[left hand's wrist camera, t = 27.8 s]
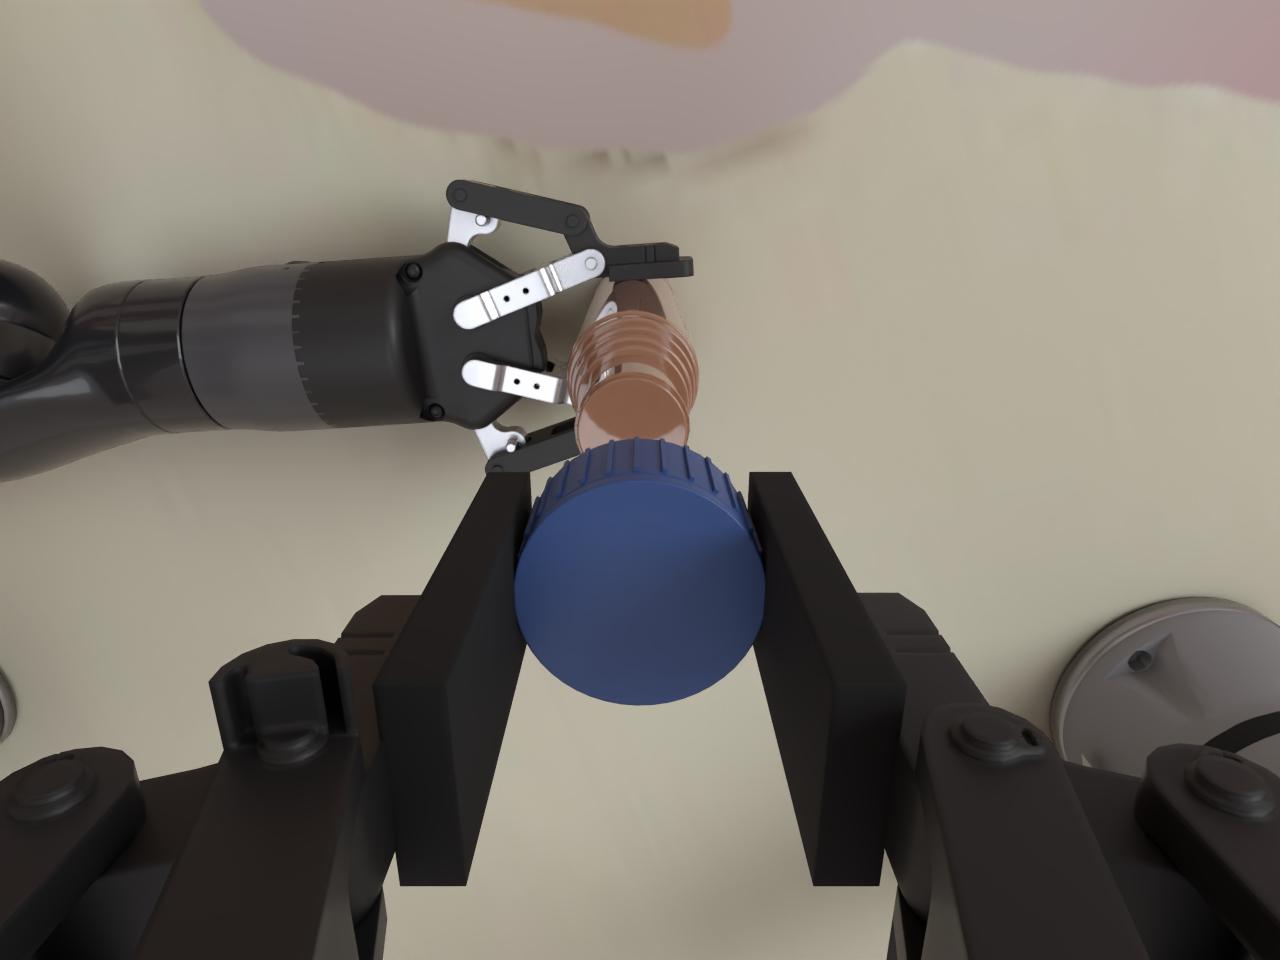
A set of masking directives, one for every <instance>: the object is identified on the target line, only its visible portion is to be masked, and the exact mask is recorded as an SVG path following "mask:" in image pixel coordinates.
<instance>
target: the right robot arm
mask: <svg viewBox="0 0 1280 960" xmlns="http://www.w3.org/2000/svg"><path fill="white" fill-rule="evenodd" d="M446 197H447V200H448V202H449V204H450V205H451V212H450V220H449V228H448V236H447V242H446V243H443V244H440V245H439V246H437V247H436V248H434V249H433V250H432V251H430V252H428V253H426V254H423V255H414V256H400V257H386V258H372V259H358V260H344V261H329V262H314V263H311V262H307V261H293V262H289V263H287V264H285V265H270V266H260V267H252V268H247V269H242V270H238V271H234V272H229V273H224V274H218V275H210V276H200V277H186V278H171V279H157V280H137V281H126V282H118V283H112V284H107V285H104V286H101V287H99V288H96V289H94V290H92V291H90V292H88V293H87V294H86V295H85V296H84V297H82V298H81V299H80V300H79V301H78V302H77V304H76V305H75V306H74V308H73V309H72V311H71V312H69V310H68V308H67V306H66V304H65V302H64V301H63V299H62V298H61V297H60V295H59V294H58V293H57V292H56V290H55V289H54V288H53V287H52V286H51V285H50V284H49V283H48V282H46V281H45V280H44V279H43V278H41V277H40V276H38V275H37V274H36V273H34V272H32V271H30V270H29V269H27V268H24V267H22V266H20V265H17V264H14V263H12V262H9V261H6V260H3V259H0V482H6V481H11V480H17V479H21V478H25V477H29V476H32V475H35V474H39V473H42V472H45V471H49V470H52V469H55V468H57V467H60V466H63V465H66V464H68V463H71V462H74V461H76V460H79V459H82V458H84V457H87V456H89V455H92V454H95V453H98V452H101V451H104V450H107V449H110V448H113V447H117V446H120V445H123V444H126V443H130V442H133V441H136V440H139V439H142V438H145V437H149V436H153V435H159V434H171V433H182V432H198V431H214V430H229V429H252V430H265V431H301V430H317V429H331V428H347V427H363V426H379V425H394V424H409V423H425V422H437V421H446V422H451V423H455V424H457V425H460V426H462V427H464V428H467V429H472V430H475V432H476V434H477V437H478V439H479V441H480V443H481V445H482V448H483V450H484V452H485V454H486V456H487V458H488V462H487V464H486V467H485V472H486V475H487V474H488V472H531V471H534V470H537V469H540V468H543V467H546V466H549V465H551V464H554V463H557V462H560V461H563V460H566V459H569V458H571V457H574V456H577V455H580V454H581V453H580V451H579V448H578V446H577V443H576V439H575V429H574V424H575V418H576V417H574V418H571V419H568V420H565V421H562V422H560V423H557V424H554V425H551V426H548V427H545V428H543V429H540V430H537V431H534V432H531V433H529V434H527V432H526V431H525V430H524V429H523V428H522V427H519V426H510V427H506V426H502V425H501V424H499V423H498V422H497V421H496V419H497V418H498V417H500V416H501V415H502V414H503V413H504V412H506V411H507V410H508V409H509V408H510V407H511V406H513V405H514V404H515V403H516V402H517V401H519V400H520V399H521V398H522V397H528V398H532V399H536V400H540V401H545V402H549V403H553V404H562V403H565V404H570V405H572V403H571V400H570V397H569V392H568V383H567V368H568V363H566V362H562V361H558V360H554V359H550V358H547V349H546V344H545V341H544V339H543V336H542V334H541V331H540V325H541V318H542V303H541V300H543V299H546V298H548V297H550V296H553V295H555V294H557V293H559V292H561V291H563V290H565V289H568V288H570V287H573V286H575V285H578V284H580V283H583V282H585V281H587V280H590V279H592V278H600V277H609V282H617V281H628V280H646V279H661V278H675V277H688V276H693V275H694V272H693V258H692V257H690V256H682V257H679V248H678V246H676V245H673V244H670V243H667V242H661V243H647V244H632V245H618V246H610V245H607V244H605V243H603V242H602V241H601V240H600V239H599V238H598V236H597V234H596V232H595V230H594V227H593V225H592V223H591V221H590V215H589V213H588V211H587V210H586V209H585V208H584V207H583V206H580V205H576V204H572V203H568V202H563V201H559V200H555V199H550V198H546V197H542V196H538V195H533V194H529V193H525V192H520V191H516V190H512V189H507V188H503V187H499V186H494V185H490V184H486V183H482V182H477V181H472V180H455V181H453V182H451V183H450V184H449V186H448V188H447V190H446ZM502 220H504V221H509V222H513V223H517V224H522V225H526V226H530V227H535V228H539V229H544V230H548V231H552V232H557V233H561V234H564V236H565V238H566V240H567V243H568V245H569V247H570V249H571V251H572V253H571V254H568V255H566V256H564V257H561V258H559V259H556V260H553V261H551V262H548V263H545V264H543V265H541V266H538V267H536V268H533V269H531V270H528V271H526V272H524V273H521V274H517V273H516V272H514V271H512V270H511V269H509V268H508V267H506V266H504V265H503V264H501V263H500V262H498V261H496V260H495V259H493V258H492V257H490V256H488V255H487V254H485V253H484V252H482V251H480V250H479V249H477V248H476V247H474V246H472V245H471V244H472V241H473V239H474V238H475V236H477V235H478V234H489V233H492V232H495V231H496V230H497V229H498V228H499V227H500V225H501V221H502ZM544 370H546V372H544ZM537 384H539V386H536V385H537ZM15 718H16V707H15V701H14V697H13V694H12V692H11V689H10V687H9V686H8V684H7V682H6V680H5V679H4V677H3V676H2V675H1V673H0V744H1V743H2V742H3V741H4V740H5V739H6V738H7V737H8V736H9V734H10V732H11V731H12V729H13V726H14V723H15Z"/></svg>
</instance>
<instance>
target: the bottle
mask: <svg viewBox="0 0 1280 960" xmlns="http://www.w3.org/2000/svg"><path fill="white" fill-rule="evenodd" d="M567 383H568V392H569V397H570V400H571V403H572V406H573V408H574V410H575V412H576V418H575V424H574V429H575V439H576V443H577V446H578V448H579V451H580V453H581V454H583V453H584V452H585V449H587V448H590V449H593V448H595V447H597V446H600V445H603V444H606V443H609V440H612V439H614V441H619V440H625V439H634V437H635V436H639V439H654V440H660V438H663V439H665V441H666V442H670V443H674V444H677V445H680V446H683V447H684V445H687V440H688V436H689V431H690V428H689V413H690V412H691V410H692V408H693V405H694V403H695V400H696V396H697V391H698V383H699V369H698V362H697V358H696V355H695V352H694V349H693V347H692V344H691V341H690V338H689V335H688V333H687V330H686V327H685V324H684V322H683V319H682V316H681V313H680V311H679V308H678V305H677V302H676V299H675V297H674V294H673V291H672V289H671V287H670V285H669V284H668V282H667V281H666V280H665V279H664V278H661V279H646V280H628V281H617V282H609V277H604V278H603V280H602V281H601V282H600V284H599V285H598V287H597V289H596V291H595V294H594V296H593V299H592V301H591V304H590V306H589V309H588V311H587V314H586V317H585V319H584V322H583V324H582V327H581V329H580V332H579V334H578V337H577V339H576V342H575V344H574V347H573V349H572V352H571V355H570V358H569V362H568V368H567Z"/></svg>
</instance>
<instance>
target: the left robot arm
mask: <svg viewBox="0 0 1280 960" xmlns="http://www.w3.org/2000/svg"><path fill="white" fill-rule="evenodd" d="M531 511H532V502H531V483H530V472H488V474H487V475H486V477H485V479H484V481H483V483H482V485H481V486H480V488H479V490H478V492H477V494H476V496H475V497H474V499H473V501H472V503H471V505H470V507H469V508H468V510H467V512H466V514H465V516H464V518H463V519H462V521H461V523H460V525H459V527H458V529H457V530H456V532H455V534H454V536H453V538H452V540H451V541H450V543H449V545H448V547H447V549H446V551H445V552H444V554H443V556H442V558H441V560H440V562H439V563H438V565H437V567H436V569H435V571H434V573H433V574H432V576H431V578H430V580H429V582H428V584H427V585H426V587H425V589H424V591H423V593H422V595H381V596H380V597H378V598H377V599H375V600H374V601H372V602H371V603H369V604H368V605H366V606H365V607H363V608H362V609H361V610H359V611H358V612H356V613H355V614H354V616H353V617H352V619H351V620H350V622H349V623H348V625H347V626H346V627H345V629H344V630H343V632H342V633H341V638H338V639H337V641H336V642H335V644H334V643H330V642H326V641H322V640H319V639H293V640H287V641H282V642H277V643H272V644H267V645H264V646H262V647H259V648H256V649H254V650H251V651H249V652H246V653H243V654H241V655H240V656H238V657H236V658H235V659H233V660H232V661H230V662H228V663H227V664H225V665H224V666H222V667H221V668H220V669H219V670H218V671H217V673H216V674H215V675H214V676H213V677H212V678H211V679H210V681H209V687H210V691H211V695H212V700H213V704H214V709H215V713H216V718H217V722H218V726H219V731H220V735H221V740H222V744H223V749H224V751H223V753H222V756H221V758H220V760H219V762H218V763H216V764H213V765H209V766H205V767H202V768H198V769H194V770H189V771H185V772H180V773H175V774H171V775H166V776H161V777H156V778H152V779H147V780H142V781H139V779H138V775H137V771H136V768H135V764H134V761H133V760H132V759H131V758H130V757H129V756H128V755H127V754H126V753H124V752H123V751H122V750H117V749H111V748H106V747H93V748H83V749H74V750H70V751H65V752H61V753H60V754H54V755H51V756H48V757H45V758H42V759H40V760H38V761H37V762H34V763H32V764H30V765H28V766H26V767H24V768H22V769H20V770H18V771H15V772H13V773H12V774H10V775H9V776H7V777H6V778H5V779H3V780H2V781H0V960H383V951H384V942H385V934H386V925H387V914H386V907H385V900H384V893H383V886H382V885H383V882H384V880H385V877H386V874H387V871H388V869H389V866H390V863H391V861H392V858H393V855H394V853H396V860H397V867H398V874H399V881H400V886H466V884H467V880H468V876H469V872H470V868H471V864H472V860H473V856H474V852H475V848H476V844H477V840H478V836H479V832H480V828H481V824H482V820H483V816H484V812H485V808H486V804H487V800H488V796H489V792H490V789H491V785H492V781H493V777H494V773H495V769H496V765H497V761H498V757H499V753H500V749H501V745H502V741H503V737H504V733H505V729H506V725H507V721H508V717H509V713H510V709H511V705H512V701H513V697H514V693H515V689H516V685H517V681H518V677H519V673H520V669H521V665H522V661H523V657H524V653H525V649H526V645H527V643H526V641H525V639H524V637H523V635H522V632H521V630H520V628H519V625H518V622H517V618H516V606H515V590H514V576H515V570H516V566H517V563H518V560H517V556H518V553H519V550H520V547H521V545H522V542H523V539H524V537H523V534H524V531H525V528H526V526H527V523H528V520H529V517H530V514H531ZM748 512H749V513H750V516H751V519H752V522H753V525H754V527H755V530H756V533H757V536H758V539H759V542H760V545H761V548H762V555H761V559H762V563H763V566H764V570H765V575H766V581H765V599H764V614H763V622H762V625H761V628H760V631H759V633H758V635H757V637H756V639H755V641H754V643H753V647H754V651H755V655H756V659H757V663H758V667H759V671H760V675H761V679H762V683H763V687H764V691H765V695H766V699H767V703H768V707H769V711H770V715H771V719H772V723H773V727H774V731H775V735H776V739H777V743H778V747H779V751H780V755H781V759H782V763H783V767H784V771H785V775H786V779H787V783H788V787H789V791H790V795H791V799H792V803H793V807H794V811H795V815H796V819H797V822H798V826H799V830H800V834H801V838H802V842H803V846H804V850H805V854H806V858H807V862H808V866H809V870H810V874H811V878H812V882H813V886H879V885H880V877H881V870H882V863H883V856H884V849H885V850H886V853H887V856H888V858H889V861H890V864H891V866H892V869H893V872H894V874H895V877H896V880H897V882H898V886H897V893H896V900H895V906H894V913H893V919H892V926H891V933H890V939H889V946H888V953H887V960H1280V626H1278V625H1277V624H1275V623H1274V622H1272V621H1271V620H1269V619H1268V618H1266V617H1265V616H1263V615H1262V614H1260V613H1259V612H1257V611H1256V610H1254V609H1252V608H1250V607H1248V606H1245V605H1242V604H1240V603H1237V602H1233V601H1229V600H1225V599H1218V598H1207V597H1195V598H1183V599H1176V600H1171V601H1165V602H1162V603H1158V604H1155V605H1151V606H1149V607H1146V608H1143V609H1140V610H1138V611H1136V612H1134V613H1132V614H1129V615H1127V616H1126V617H1124V618H1122V619H1120V620H1118V621H1117V622H1115V623H1113V624H1112V625H1110V626H1109V627H1107V628H1106V629H1104V630H1103V631H1102V632H1101V633H1099V634H1098V635H1097V636H1095V637H1094V638H1093V639H1092V640H1091V641H1090V642H1089V643H1088V644H1087V645H1086V646H1085V647H1084V648H1083V649H1082V650H1081V651H1080V652H1079V653H1078V654H1077V656H1076V657H1075V658H1074V659H1073V660H1072V662H1071V663H1070V665H1069V666H1068V668H1067V669H1066V671H1065V672H1064V674H1063V676H1062V678H1061V680H1060V682H1059V684H1058V687H1057V689H1056V692H1055V695H1054V698H1053V702H1052V708H1051V718H1050V721H1051V732H1052V737H1053V741H1054V744H1055V746H1056V748H1055V747H1054V746H1053V744H1052V743H1051V741H1050V740H1049V739H1048V737H1047V736H1046V735H1045V733H1044V732H1042V731H1041V730H1039V729H1038V728H1037V727H1035V726H1034V725H1033V724H1031V723H1030V722H1028V721H1027V720H1026V719H1024V718H1022V717H1020V716H1017V715H1015V714H1013V713H1010V712H1008V711H1006V710H1004V709H1001V708H998V707H993V706H990V705H989V704H988V702H987V701H986V700H985V698H984V697H983V695H982V694H981V692H980V691H979V689H978V688H977V686H976V685H975V683H974V682H973V681H972V679H971V678H970V676H969V675H968V673H967V672H966V670H965V669H964V667H963V666H962V665H961V663H960V662H959V660H958V659H957V657H956V656H955V654H954V653H951V652H950V647H949V646H948V644H947V643H946V641H945V640H944V638H943V637H942V635H939V633H938V632H939V631H938V629H937V628H936V627H935V625H934V624H933V622H932V621H931V619H930V618H929V616H928V615H927V613H926V612H925V610H923V609H922V608H920V607H919V606H917V605H916V604H914V603H913V602H911V601H910V600H908V599H907V598H905V597H904V596H902V595H901V594H899V593H857V592H856V590H855V588H854V587H853V585H852V583H851V581H850V579H849V577H848V576H847V574H846V572H845V570H844V568H843V566H842V564H841V563H840V561H839V559H838V557H837V555H836V553H835V552H834V550H833V548H832V546H831V544H830V542H829V541H828V539H827V537H826V535H825V533H824V531H823V530H822V528H821V526H820V524H819V522H818V520H817V519H816V517H815V515H814V513H813V511H812V509H811V508H810V506H809V504H808V502H807V500H806V498H805V497H804V495H803V493H802V491H801V489H800V487H799V486H798V484H797V482H796V480H795V478H794V476H793V475H792V473H791V472H749V492H748ZM1056 749H1057V750H1056ZM1057 751H1058V752H1057ZM1058 753H1059V754H1058ZM1059 755H1060V756H1061V758H1062V759H1063V760H1061V759H1060V756H1059Z"/></svg>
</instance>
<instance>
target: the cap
mask: <svg viewBox="0 0 1280 960" xmlns="http://www.w3.org/2000/svg"><path fill="white" fill-rule="evenodd" d="M523 537H524V539H523V542H522V545H521V547H520V550H519V553H518V556H517V560H518V563H517V566H516V570H515V576H514V590H515V606H516V618H517V622H518V625H519V628H520V630H521V632H522V635H523V637H524V639H525V641H526V643H527V644H528V646H529V648H530V649H531V651H532V652H533V654H534V655H535V656H536V658H537V659H538V660H539V661H540V663H541V664H542V665H543V666H544V667H545V668H546V669H547V670H548V671H549V672H550V673H552V674H553V675H554V676H555V677H557V678H558V679H559V680H561V681H562V682H563V683H565V684H567V685H568V686H570V687H572V688H573V689H575V690H577V691H579V692H581V693H584V694H586V695H588V696H590V697H593V698H597V699H600V700H603V701H607V702H612V703H617V704H625V705H656V704H662V703H669V702H673V701H676V700H680V699H684V698H686V697H689V696H692V695H694V694H697V693H699V692H701V691H703V690H705V689H707V688H708V687H710V686H712V685H713V684H715V683H716V682H718V681H719V680H721V679H722V678H724V677H725V676H726V675H727V674H728V673H729V672H730V671H732V670H733V669H734V668H735V667H736V666H737V665H738V663H739V662H740V661H741V660H742V659H743V658H744V657H745V655H746V654H747V652H748V651H749V649H750V648H751V646H752V645H753V643H754V641H755V639H756V637H757V635H758V633H759V631H760V628H761V625H762V622H763V614H764V599H765V581H766V575H765V570H764V566H763V563H762V559H761V555H762V548H761V545H760V542H759V539H758V536H757V533H756V530H755V527H754V525H753V522H752V519H751V516H750V513H749V512H748V510H747V507H746V505H745V502H744V499H743V496H742V493H741V492H740V491H739V492H737V491H736V490H735V488H734V487H733V485H732V483H731V481H730V478H729V475H728V474H727V473H726V472H725V473H724V474H723V473H722V472H721V471H720V470H719V469H718V468H717V467H716V466H715V465H714V464H712V462H711V459H710V458H709V457H706V458H704V457H703V456H701V455H700V454H698V453H696V452H694V451H692V450H690V449H689V446H687V445H684V447H683V446H680V445H677V444H674V443H670V442H666V441H665V439H663V438H660V440H654V439H639V436H635V437H634V439H625V440H619V441H614V439H612V440H609V443H606V444H603V445H600V446H597V447H595V448H593V449H590V448H587V449H585V452H584V453H583V454H581V455H579V456H578V457H576V458H574V459H573V460H572V461H570V462H569V461H568V460H567V461H566V462H565V463H564V466H563V468H562V469H561V470H560V471H559V472H558V473H557V474H556V475H555V476H554V477H553V478H552V477H549V479H548V480H547V483H546V486H545V489H544V491H543V493H542V495H541V497H538V496H537V497H536V499H535V502H534V505H533V508H532V511H531V514H530V517H529V520H528V523H527V526H526V528H525V531H524V534H523Z"/></svg>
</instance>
